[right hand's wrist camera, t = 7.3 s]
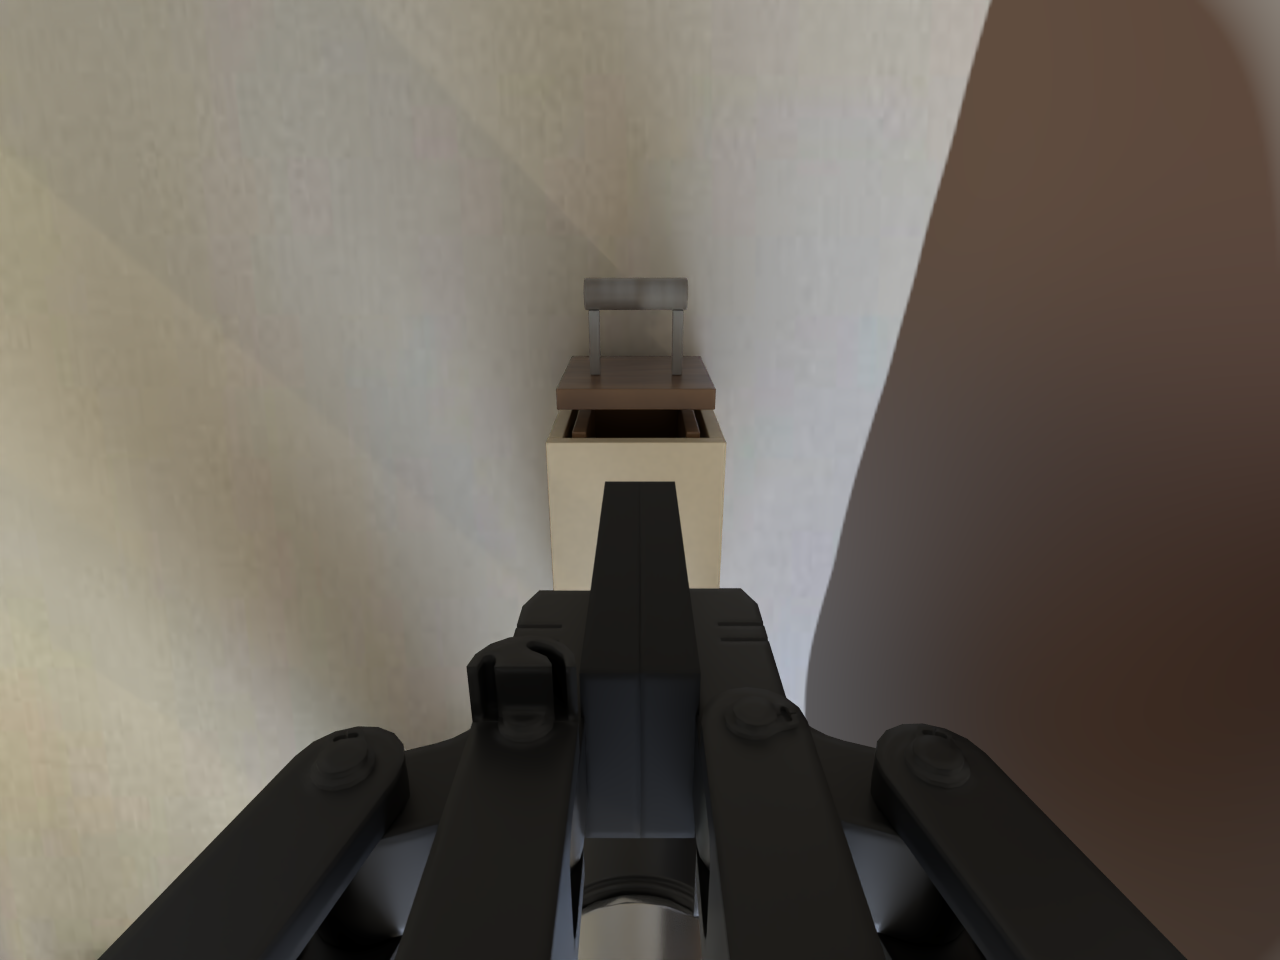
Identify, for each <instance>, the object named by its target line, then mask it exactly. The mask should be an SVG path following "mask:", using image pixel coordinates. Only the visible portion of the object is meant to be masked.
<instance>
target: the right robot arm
mask: <svg viewBox="0 0 1280 960" xmlns="http://www.w3.org/2000/svg"><path fill="white" fill-rule="evenodd" d="M467 675H468V684H469V693H470V702H471V711H472V720H473V722H472V725H471V728H470V729H469V730H468V731H466V732H464V733H462V734H460V735H458V736H456V737H454V738H452V739H449V740H446V741H442V742H439V743H436V744H432V745H428V746H423V747H419V748H415V749H411V750H407V751H404V746H403V743H402V742H401V741H400V740H399V739H398V737H397V736H396V735H395V734H394V733H392V732H390V731H387V730H384V729H382V728H379V727H353V728H349V729H344V730H340V731H335V732H333V733H331V734H329V735H327V736H325V737H323V738H320V739H318V740H316V741H314V742H313V743H311V744H310V745H309V746H307V747H306V748H305V749H304V750H302V751H301V752H300V753H299V754H297V755H296V756H295V757H294V758H293V759H292V760H291V761H290V762H289V763H288V764H287V765H286V766H285V767H284V768H283V769H282V770H281V771H280V772H279V773H278V774H277V775H276V776H275V777H274V778H273V779H272V781H271V782H270V783H269V784H268V785H267V786H266V787H265V788H264V789H263V790H262V791H261V792H260V793H259V794H258V795H257V796H256V797H255V798H254V799H253V800H252V801H251V802H250V803H249V804H248V805H247V806H246V807H245V808H244V809H243V810H242V811H241V812H240V813H239V815H238V816H237V817H236V818H235V819H234V820H233V821H232V822H231V823H230V824H229V825H228V826H227V827H226V828H225V829H224V830H223V831H222V832H221V833H220V834H219V835H218V836H217V837H216V838H215V839H214V840H213V841H212V842H211V843H210V844H209V845H208V846H207V847H206V848H205V850H204V851H203V852H202V853H201V854H200V855H199V856H198V857H197V858H196V859H195V860H194V861H193V862H192V863H191V864H190V865H189V866H188V867H187V868H186V869H185V870H184V871H183V872H182V873H181V874H180V875H179V876H178V877H177V878H176V879H175V880H174V881H173V882H172V884H171V885H170V886H169V887H168V888H167V889H166V890H165V891H164V892H163V893H162V894H161V895H160V896H159V897H158V898H157V899H156V900H155V901H154V902H153V903H152V904H151V905H150V906H149V907H148V908H147V909H146V910H145V911H144V912H143V913H142V914H141V915H140V916H139V917H138V919H137V920H136V921H135V922H134V923H133V924H132V925H131V926H130V927H129V928H128V929H127V930H126V931H125V932H124V933H123V934H122V935H121V936H120V937H119V938H118V939H117V940H116V941H115V942H114V943H113V944H112V945H111V946H110V947H109V948H108V949H107V950H106V951H105V953H104V954H103V955H102V956H101V957H100V958H99V959H98V960H578V951H579V938H580V926H581V914H582V902H583V889H584V877H585V870H584V836H585V835H586V838H694V835H695V832H696V843H697V846H696V870H695V895H694V916H699V925H700V938H701V950H702V960H1187V959H1186V958H1185V957H1184V956H1183V955H1182V954H1181V953H1180V952H1179V951H1178V950H1177V949H1176V947H1175V946H1173V944H1172V943H1171V942H1170V941H1169V940H1168V939H1167V938H1166V937H1165V936H1164V935H1163V934H1162V933H1161V932H1160V931H1159V930H1158V929H1157V928H1156V927H1155V926H1154V925H1153V924H1152V923H1151V922H1150V921H1149V920H1148V919H1147V918H1146V917H1145V916H1144V915H1143V914H1142V913H1141V912H1140V911H1139V910H1138V909H1137V908H1136V907H1135V906H1134V905H1133V904H1132V902H1131V901H1130V900H1129V899H1128V898H1127V897H1126V896H1125V895H1124V894H1123V893H1122V892H1121V891H1120V890H1119V889H1118V888H1117V887H1116V886H1115V885H1114V884H1113V883H1112V882H1111V881H1110V880H1109V879H1108V878H1107V877H1106V876H1105V875H1104V874H1103V873H1102V872H1101V871H1100V870H1099V869H1098V868H1097V867H1096V866H1095V865H1094V864H1093V863H1092V862H1091V861H1090V860H1089V859H1088V858H1087V856H1086V855H1085V854H1084V853H1083V852H1082V851H1081V850H1080V849H1079V848H1078V847H1077V846H1076V845H1075V844H1074V843H1073V842H1072V841H1071V840H1070V839H1069V838H1068V837H1067V836H1066V835H1065V834H1064V833H1063V832H1062V831H1061V830H1060V829H1059V828H1058V827H1057V826H1056V825H1055V824H1054V823H1053V822H1052V821H1051V820H1050V819H1049V818H1048V817H1047V816H1046V815H1045V814H1044V813H1043V811H1042V810H1041V809H1040V808H1039V807H1038V806H1037V805H1036V804H1035V803H1034V802H1033V801H1032V800H1031V799H1030V798H1029V797H1028V796H1027V795H1026V794H1025V793H1024V792H1023V791H1022V790H1021V789H1020V788H1019V787H1018V786H1017V785H1016V784H1015V783H1014V782H1013V781H1012V780H1011V779H1010V778H1009V777H1008V776H1007V775H1006V774H1005V773H1004V772H1003V771H1002V770H1001V769H1000V767H998V765H997V764H996V763H995V762H994V761H993V760H992V759H991V758H990V757H989V756H988V755H987V754H986V753H985V752H983V751H982V750H981V749H979V748H978V747H977V746H976V745H974V744H973V743H972V742H971V741H969V740H968V739H966V738H964V737H962V736H960V735H958V734H956V733H954V732H951V731H949V730H947V729H945V728H940V727H936V726H931V725H926V724H902V725H899V726H896V727H894V728H891V729H889V730H886V731H885V733H884V734H883V735H882V736H881V738H880V739H879V740H878V741H877V746H876V748H872V747H868V746H864V745H860V744H855V743H851V742H847V741H843V740H840V739H837V738H834V737H830V736H827V735H825V734H823V733H821V732H819V731H817V730H815V729H813V728H812V727H810V726H809V724H808V722H807V720H806V718H805V716H804V715H803V713H802V712H801V710H800V708H799V707H798V706H796V705H795V704H794V703H792V702H791V701H790V700H788V699H787V698H786V696H785V692H784V689H783V686H782V682H781V679H780V676H779V673H778V669H777V666H776V663H775V660H774V656H773V653H772V650H771V647H770V643H769V641H768V637H767V634H766V630H765V627H764V626H763V621H762V617H761V614H760V611H759V607H758V604H757V603H756V602H755V601H754V600H753V599H752V598H750V597H749V596H748V595H747V594H746V593H745V592H744V591H743V590H742V589H741V588H689V582H688V574H687V567H686V560H685V552H684V545H683V537H682V530H681V522H680V515H679V508H678V500H677V493H676V485H675V481H605V485H604V493H603V500H602V508H601V515H600V522H599V530H598V537H597V545H596V552H595V560H594V567H593V574H592V582H591V589H590V590H539V591H538V592H537V593H536V594H535V595H534V596H533V597H532V598H531V599H530V600H529V601H528V602H527V603H526V604H525V605H523V607H522V610H521V613H520V617H519V620H518V623H517V628H516V630H515V633H514V636H513V637H509V638H507V639H504V640H501V641H498V642H495V643H492V644H490V645H488V646H487V647H485V648H484V649H482V650H481V651H479V652H478V653H476V654H475V656H474V657H473V658H472V660H471V661H470V663H469V664H468V665H467Z"/></svg>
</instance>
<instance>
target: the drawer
mask: <svg viewBox="0 0 1280 960" xmlns="http://www.w3.org/2000/svg"><path fill="white" fill-rule="evenodd" d="M687 304H688V280H687V278H585V280H584V305H585V309H586V310H589V344H590V356H573V357H572V358H571V360H570V362H569V364H568V366H567V368H566V370H565V372H564V375H563V377H562V379H561V381H560V383H559V385H558V387H557V389H556V396H557V409H558V410H579V412H578V416H577V419H576V422H575V425H574V428H573V432H572V438H700V431H699V428H698V424H697V421H696V417H695V414H694V411H693V410H714V409H715V394H716V389H715V387H714V385H713V383H712V380H711V378H710V376H709V374H708V372H707V369H706V367H705V365H704V363H703V361H702V359H701V357H700V356H682V349H683V310H686V309H687ZM599 310H673V319H672V356H600V316H599Z"/></svg>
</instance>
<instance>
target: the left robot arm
mask: <svg viewBox="0 0 1280 960" xmlns="http://www.w3.org/2000/svg"><path fill="white" fill-rule="evenodd" d="M696 846H697V843H696V832H695V835H694V838H586V835H585V836H584V870H585V877H584V889H583V902H582V914H581V926H580V938H579V951H578V960H702V950H701V938H700V925H699V916H694V895H695V870H696Z"/></svg>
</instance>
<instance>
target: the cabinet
mask: <svg viewBox="0 0 1280 960" xmlns="http://www.w3.org/2000/svg"><path fill="white" fill-rule="evenodd" d="M693 411H694V414H695V417H696V421H697V424H698V428H699V431H700V438H572V432H573V428H574V425H575V422H576V419H577V416H578V412H579V410H559V413H558V415H557V418H556V420H555V422H554V425H553V427H552V430H551V432H550V435H549V437H548V439H547V441H546V457H547V476H548V495H549V514H550V533H551V552H552V571H553V590H590V589H591V582H592V574H593V567H594V560H595V552H596V545H597V537H598V530H599V522H600V515H601V508H602V500H603V493H604V485H605V481H675V485H676V493H677V500H678V508H679V515H680V522H681V530H682V537H683V545H684V552H685V560H686V567H687V574H688V582H689V588H719V584H720V563H721V542H722V521H723V500H724V479H725V459H726V441H725V439H724V436H723V434H722V431H721V429H720V426H719V424H718V421H717V419H716V416H715V414H714V411H713V410H693Z"/></svg>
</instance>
